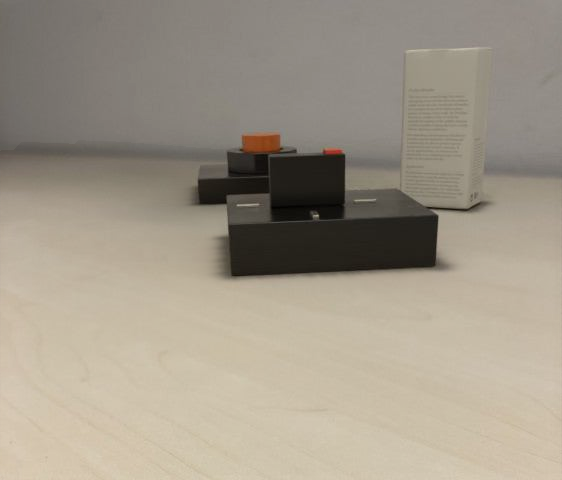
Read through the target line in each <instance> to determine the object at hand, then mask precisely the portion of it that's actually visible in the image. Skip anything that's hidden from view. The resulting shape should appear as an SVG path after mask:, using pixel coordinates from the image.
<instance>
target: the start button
mask: <svg viewBox="0 0 562 480" xmlns="http://www.w3.org/2000/svg"><path fill="white" fill-rule="evenodd" d="M281 146H282V145H281V133H280V132H267V131H266V132H265V131H264V132H263V131H262V132H248V133H247V132H246V133H243V134H241V147H242V151H245V152H267V151H278V150H281Z"/></svg>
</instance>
